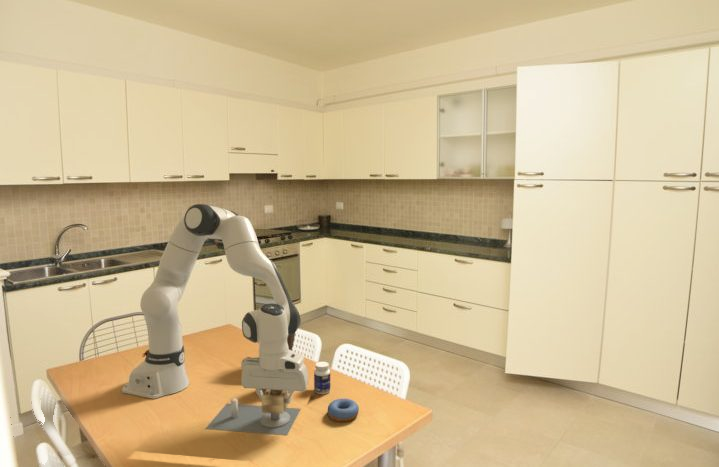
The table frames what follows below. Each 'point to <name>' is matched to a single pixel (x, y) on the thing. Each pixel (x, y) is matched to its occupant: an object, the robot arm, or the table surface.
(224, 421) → the jig board
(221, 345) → the table surface
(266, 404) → the tan box
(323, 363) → the pill bottle
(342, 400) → the doughnut
